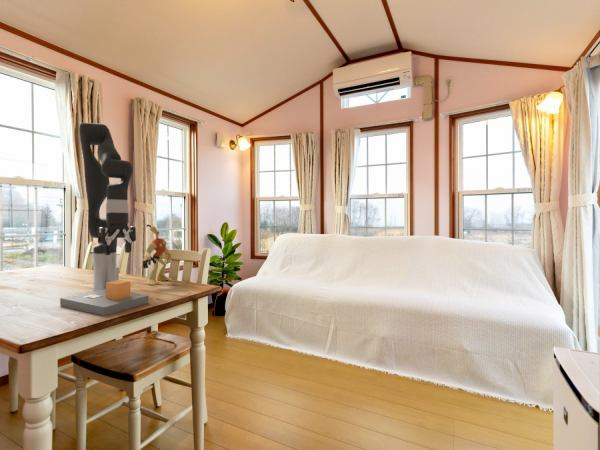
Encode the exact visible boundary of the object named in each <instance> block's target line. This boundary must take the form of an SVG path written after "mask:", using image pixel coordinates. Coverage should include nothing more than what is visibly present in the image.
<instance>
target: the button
mask: <svg viewBox="0 0 600 450" xmlns="http://www.w3.org/2000/svg"><path fill="white" fill-rule="evenodd" d="M100 297H102V296H99V295H95V296H90V297H88V298H91V299H95V298H100Z"/></svg>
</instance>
